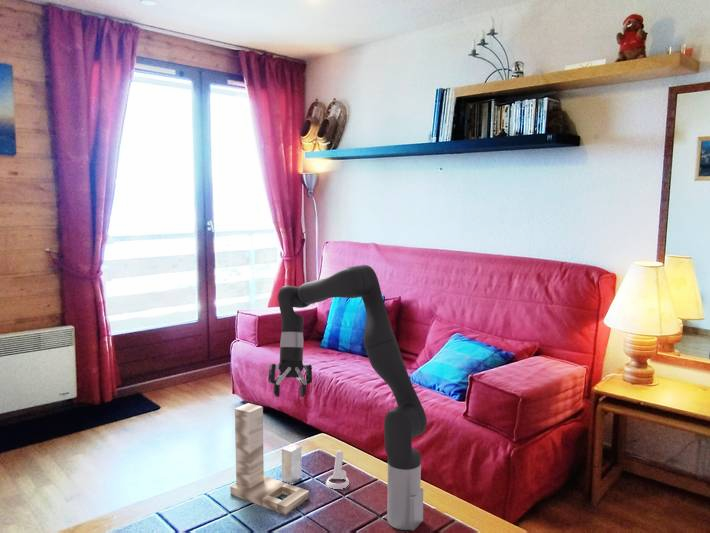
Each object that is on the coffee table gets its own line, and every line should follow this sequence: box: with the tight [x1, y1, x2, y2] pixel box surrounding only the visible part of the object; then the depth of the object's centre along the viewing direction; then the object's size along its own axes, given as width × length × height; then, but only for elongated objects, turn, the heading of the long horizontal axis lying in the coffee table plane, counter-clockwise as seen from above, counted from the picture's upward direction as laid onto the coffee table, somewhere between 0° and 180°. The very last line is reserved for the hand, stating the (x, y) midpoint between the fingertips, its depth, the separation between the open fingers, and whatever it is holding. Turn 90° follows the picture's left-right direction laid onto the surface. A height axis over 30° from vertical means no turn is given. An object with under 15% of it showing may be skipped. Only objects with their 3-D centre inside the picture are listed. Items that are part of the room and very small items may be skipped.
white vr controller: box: [325, 449, 350, 490], centre depth 179 cm, size 8×12×7 cm
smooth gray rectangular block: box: [281, 443, 302, 485], centre depth 180 cm, size 4×5×11 cm
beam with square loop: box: [229, 402, 310, 516], centre depth 168 cm, size 22×11×26 cm, turn 57°
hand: (289, 396), depth 179 cm, fingers open, 8 cm apart
